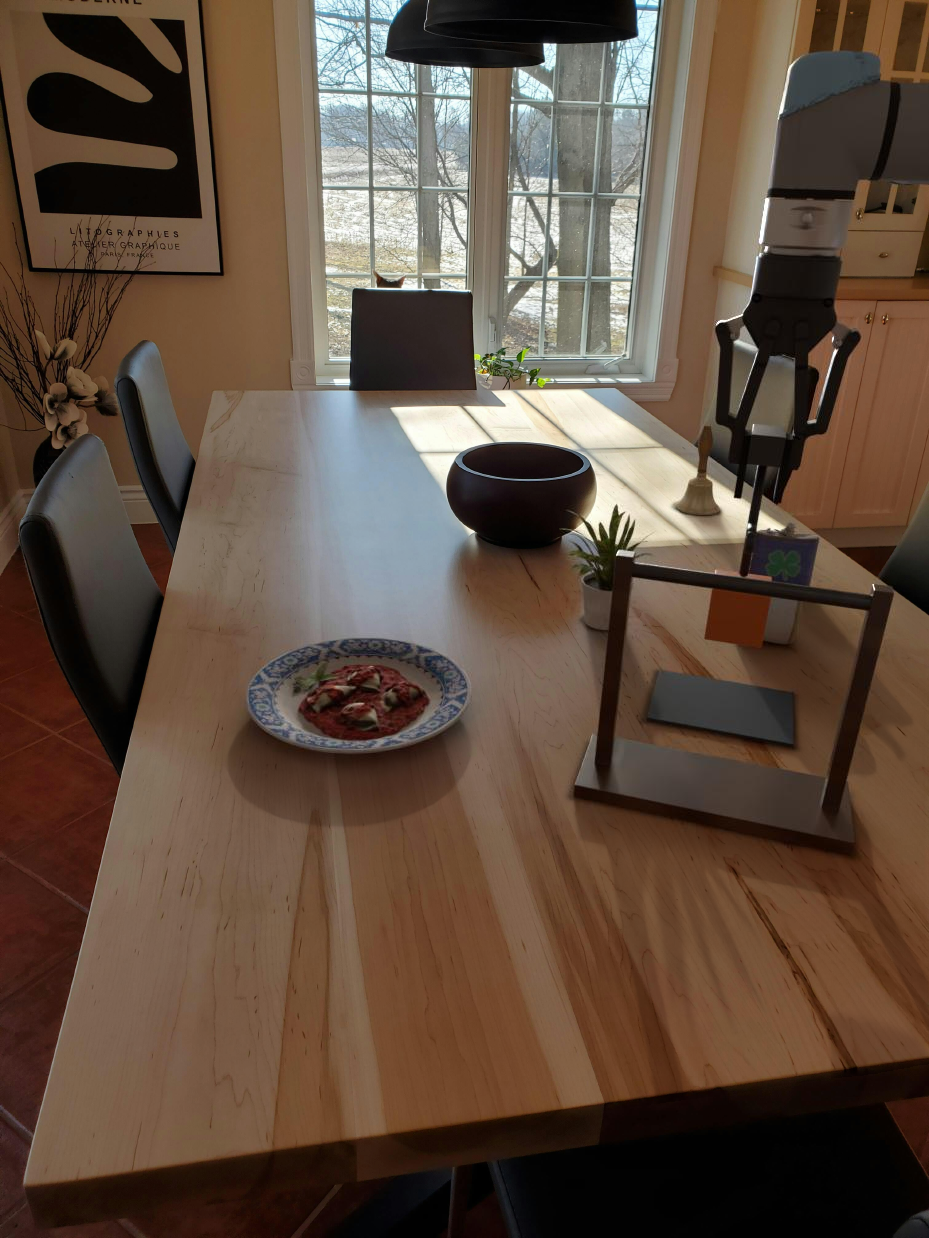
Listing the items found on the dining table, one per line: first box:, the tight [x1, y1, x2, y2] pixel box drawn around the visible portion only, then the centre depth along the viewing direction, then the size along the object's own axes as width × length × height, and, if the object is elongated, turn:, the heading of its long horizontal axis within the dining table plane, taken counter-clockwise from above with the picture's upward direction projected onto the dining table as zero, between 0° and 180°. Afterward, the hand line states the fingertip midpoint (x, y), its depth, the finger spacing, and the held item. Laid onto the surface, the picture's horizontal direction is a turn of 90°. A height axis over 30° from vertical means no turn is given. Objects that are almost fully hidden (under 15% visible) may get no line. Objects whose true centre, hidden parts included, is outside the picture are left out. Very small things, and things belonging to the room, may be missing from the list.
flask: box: [749, 521, 820, 586], centre depth 135 cm, size 9×3×11 cm, turn 80°
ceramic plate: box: [245, 636, 473, 755], centre depth 104 cm, size 26×26×3 cm
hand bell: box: [674, 424, 721, 516], centre depth 168 cm, size 8×8×16 cm
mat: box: [646, 669, 795, 748], centre depth 106 cm, size 16×12×1 cm
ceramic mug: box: [763, 597, 804, 645], centre depth 122 cm, size 11×8×8 cm
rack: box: [573, 550, 895, 856], centre depth 85 cm, size 26×10×24 cm, turn 72°
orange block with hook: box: [703, 423, 787, 649], centre depth 94 cm, size 6×6×22 cm
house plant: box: [560, 503, 655, 631], centre depth 123 cm, size 14×14×16 cm
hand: (757, 496), depth 93 cm, fingers closed on orange block with hook, 3 cm apart
